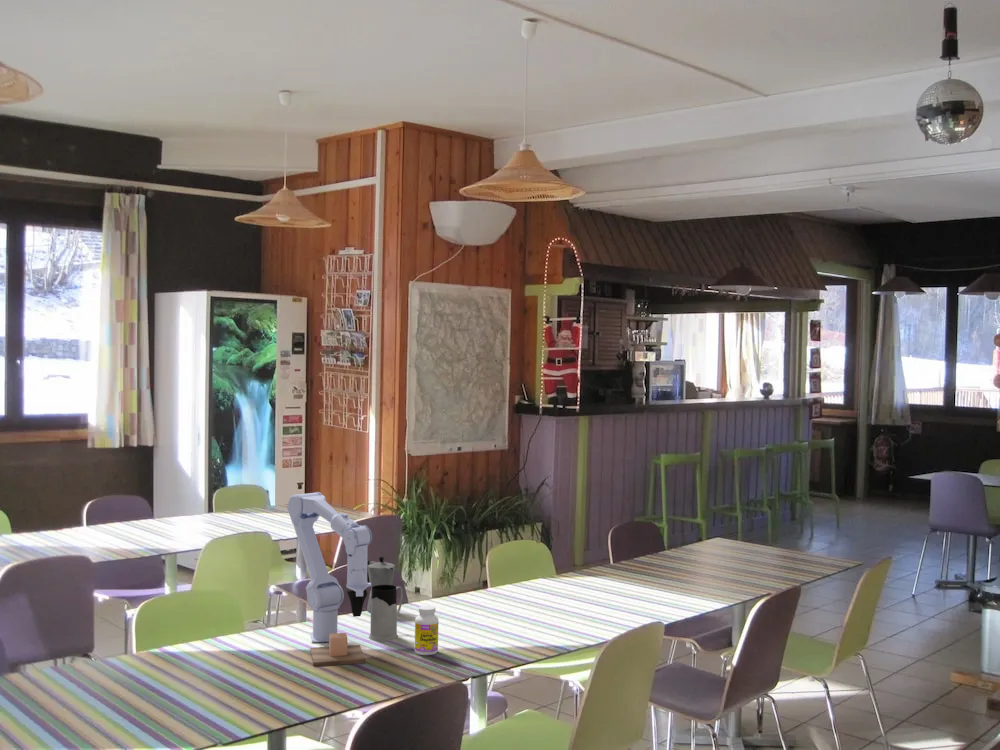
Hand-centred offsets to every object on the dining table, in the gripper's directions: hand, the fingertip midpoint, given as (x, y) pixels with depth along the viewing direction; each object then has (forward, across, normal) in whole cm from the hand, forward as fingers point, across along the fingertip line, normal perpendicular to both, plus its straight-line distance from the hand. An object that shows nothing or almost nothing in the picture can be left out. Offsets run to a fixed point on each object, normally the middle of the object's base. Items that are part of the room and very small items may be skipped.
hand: (356, 615), depth 278 cm
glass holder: (+10, +12, -11) cm, 19 cm away
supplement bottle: (+10, -8, -19) cm, 23 cm away
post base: (+9, -7, +6) cm, 13 cm away
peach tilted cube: (+8, -7, +6) cm, 12 cm away
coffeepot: (+10, +43, -12) cm, 46 cm away
